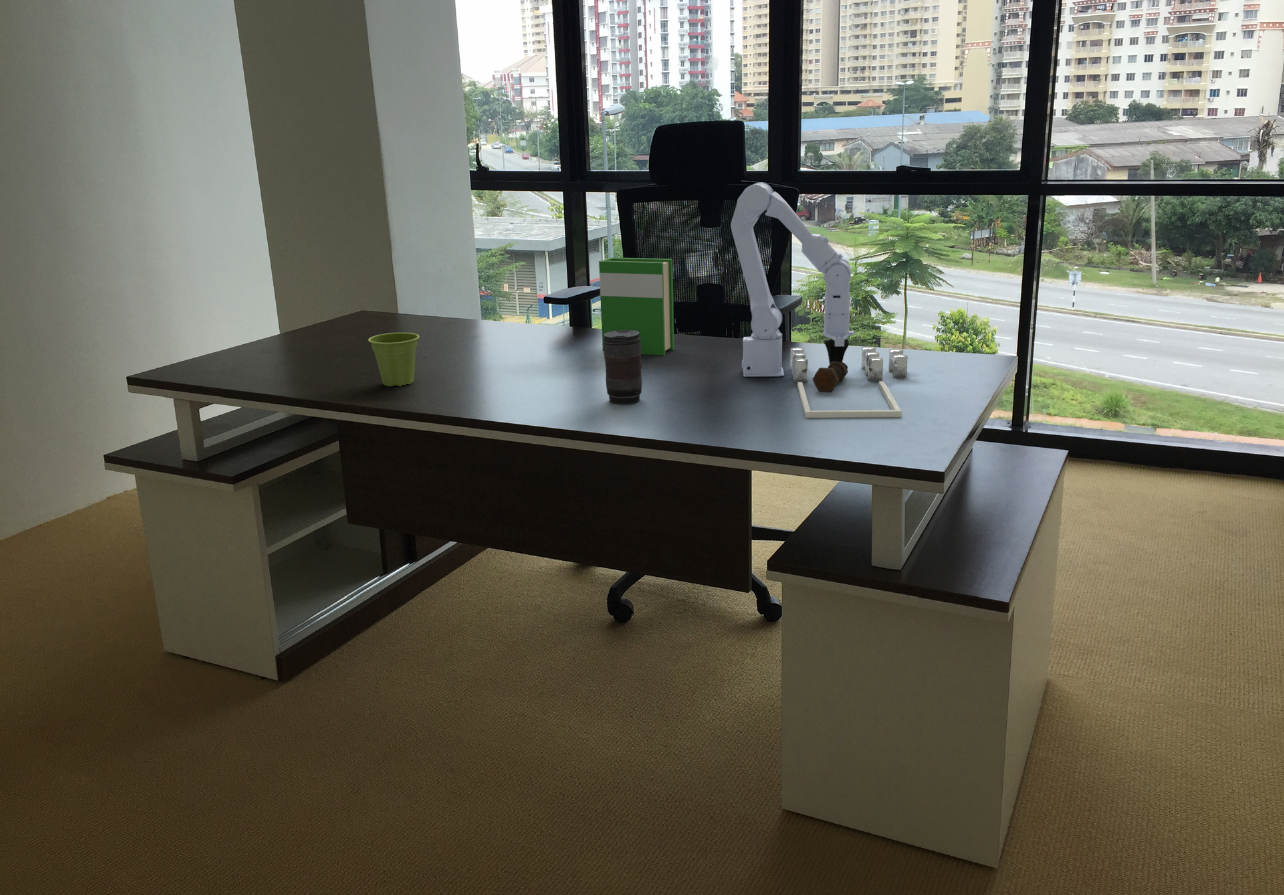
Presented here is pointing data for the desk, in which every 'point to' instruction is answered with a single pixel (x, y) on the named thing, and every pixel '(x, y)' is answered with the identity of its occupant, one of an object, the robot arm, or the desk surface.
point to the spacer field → (869, 364)
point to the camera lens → (623, 366)
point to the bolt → (830, 376)
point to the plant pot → (395, 357)
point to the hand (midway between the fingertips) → (835, 370)
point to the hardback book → (638, 300)
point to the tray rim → (852, 413)
